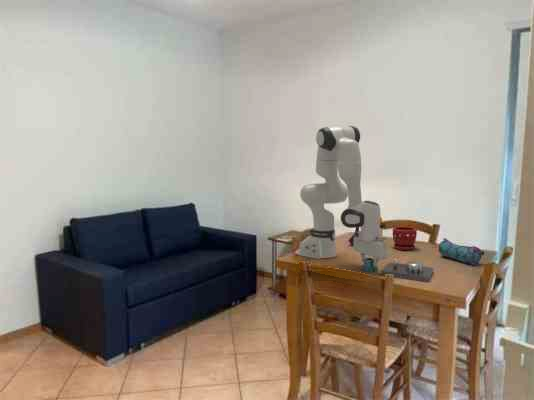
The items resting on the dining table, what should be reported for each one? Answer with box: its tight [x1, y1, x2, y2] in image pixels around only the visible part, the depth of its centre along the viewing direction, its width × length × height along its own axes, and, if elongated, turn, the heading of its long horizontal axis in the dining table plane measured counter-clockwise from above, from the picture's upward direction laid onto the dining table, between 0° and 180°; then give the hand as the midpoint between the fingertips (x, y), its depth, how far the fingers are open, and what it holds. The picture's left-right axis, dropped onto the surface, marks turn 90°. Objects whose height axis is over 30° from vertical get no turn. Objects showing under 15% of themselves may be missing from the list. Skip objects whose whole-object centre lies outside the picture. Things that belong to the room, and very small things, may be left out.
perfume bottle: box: [348, 227, 360, 247], centre depth 234 cm, size 8×8×18 cm
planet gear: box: [360, 257, 379, 273], centre depth 187 cm, size 8×8×5 cm
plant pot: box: [392, 226, 418, 251], centre depth 227 cm, size 13×13×12 cm
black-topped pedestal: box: [379, 222, 386, 239], centre depth 251 cm, size 28×26×13 cm
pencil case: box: [437, 237, 485, 266], centre depth 202 cm, size 21×9×10 cm, turn 26°
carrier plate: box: [380, 258, 434, 283], centre depth 181 cm, size 20×16×6 cm
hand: (369, 264), depth 187 cm, fingers open, 6 cm apart
